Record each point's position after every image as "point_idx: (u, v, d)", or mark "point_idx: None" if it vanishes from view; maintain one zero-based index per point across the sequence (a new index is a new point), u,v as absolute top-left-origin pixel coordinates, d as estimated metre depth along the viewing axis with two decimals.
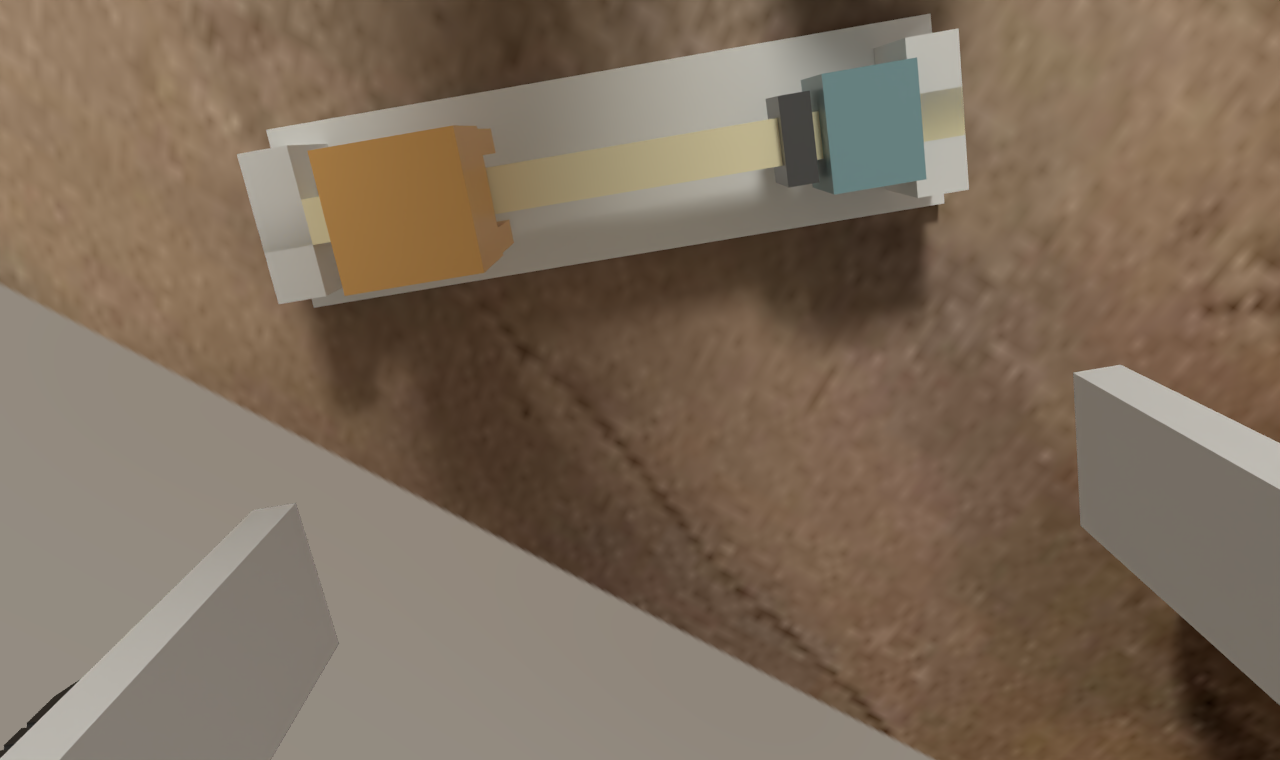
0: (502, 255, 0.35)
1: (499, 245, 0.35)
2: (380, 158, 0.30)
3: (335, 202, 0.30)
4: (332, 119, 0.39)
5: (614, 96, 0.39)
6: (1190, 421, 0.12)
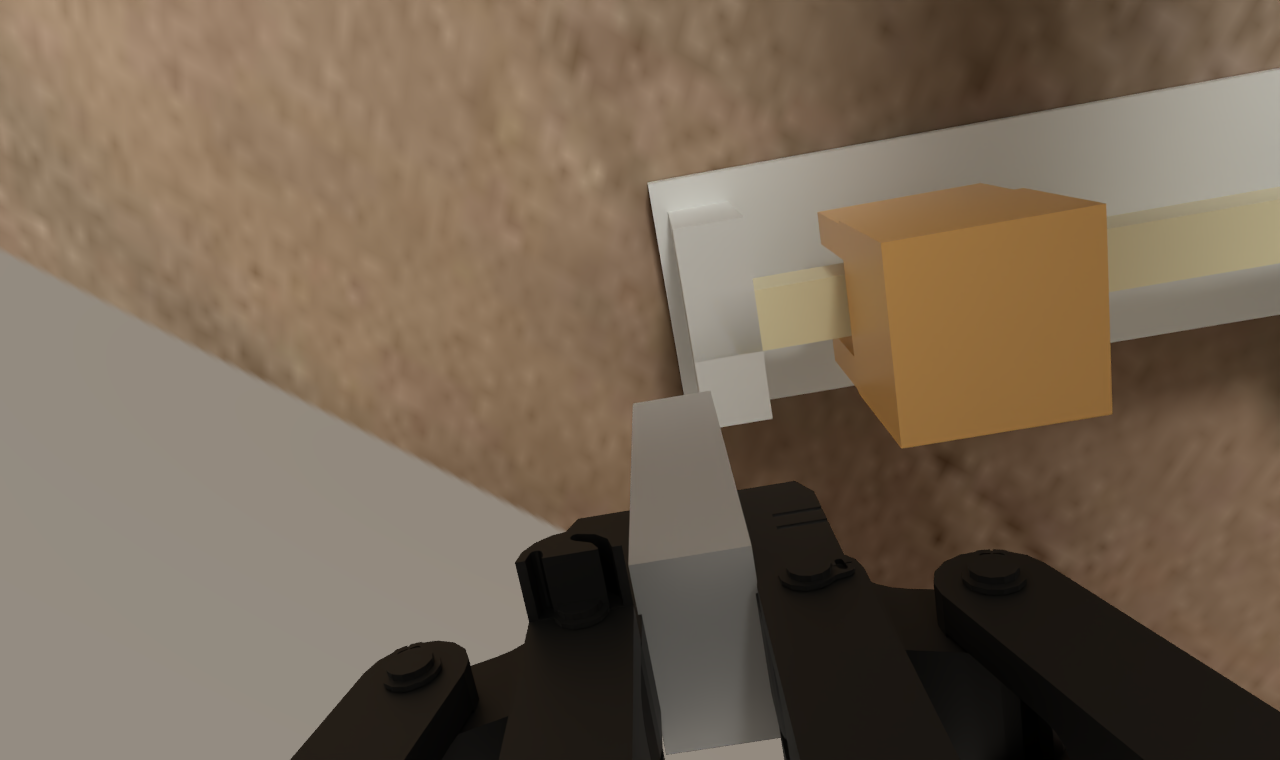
0: None
1: None
2: (987, 252, 0.20)
3: (910, 318, 0.21)
4: (738, 169, 0.29)
5: (1123, 134, 0.29)
6: (695, 441, 0.14)
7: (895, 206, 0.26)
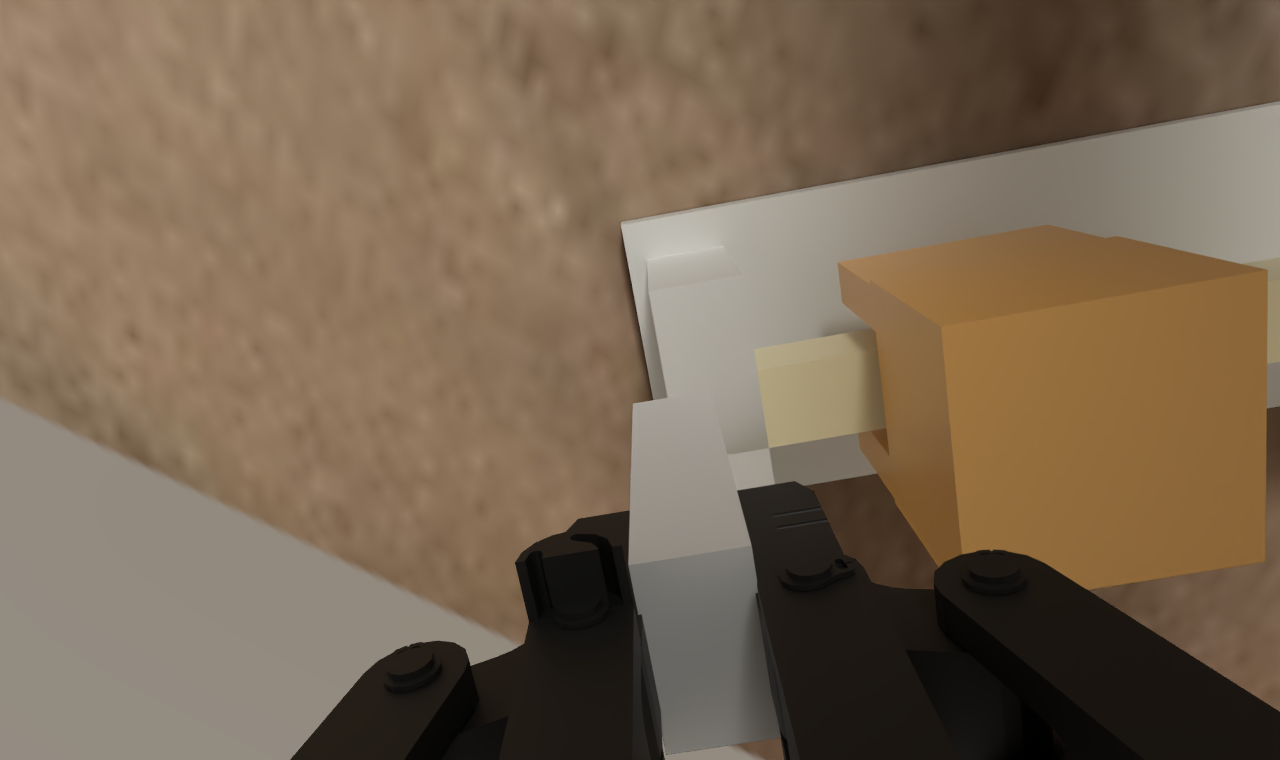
0: None
1: None
2: (1095, 340, 0.14)
3: (981, 431, 0.14)
4: (735, 206, 0.23)
5: (1223, 159, 0.23)
6: (695, 441, 0.14)
7: (941, 257, 0.20)
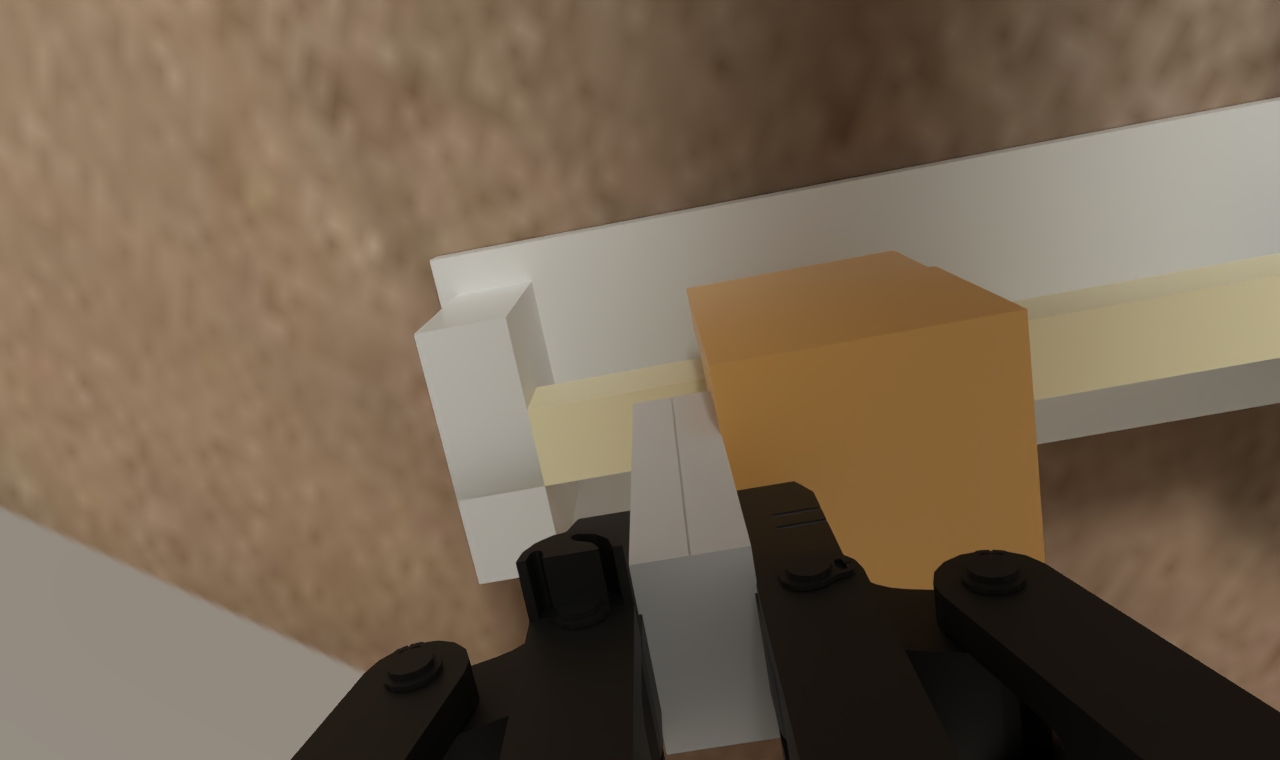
0: None
1: None
2: (861, 378, 0.14)
3: (757, 467, 0.15)
4: (541, 241, 0.23)
5: (1021, 193, 0.23)
6: (694, 441, 0.14)
7: (776, 286, 0.20)
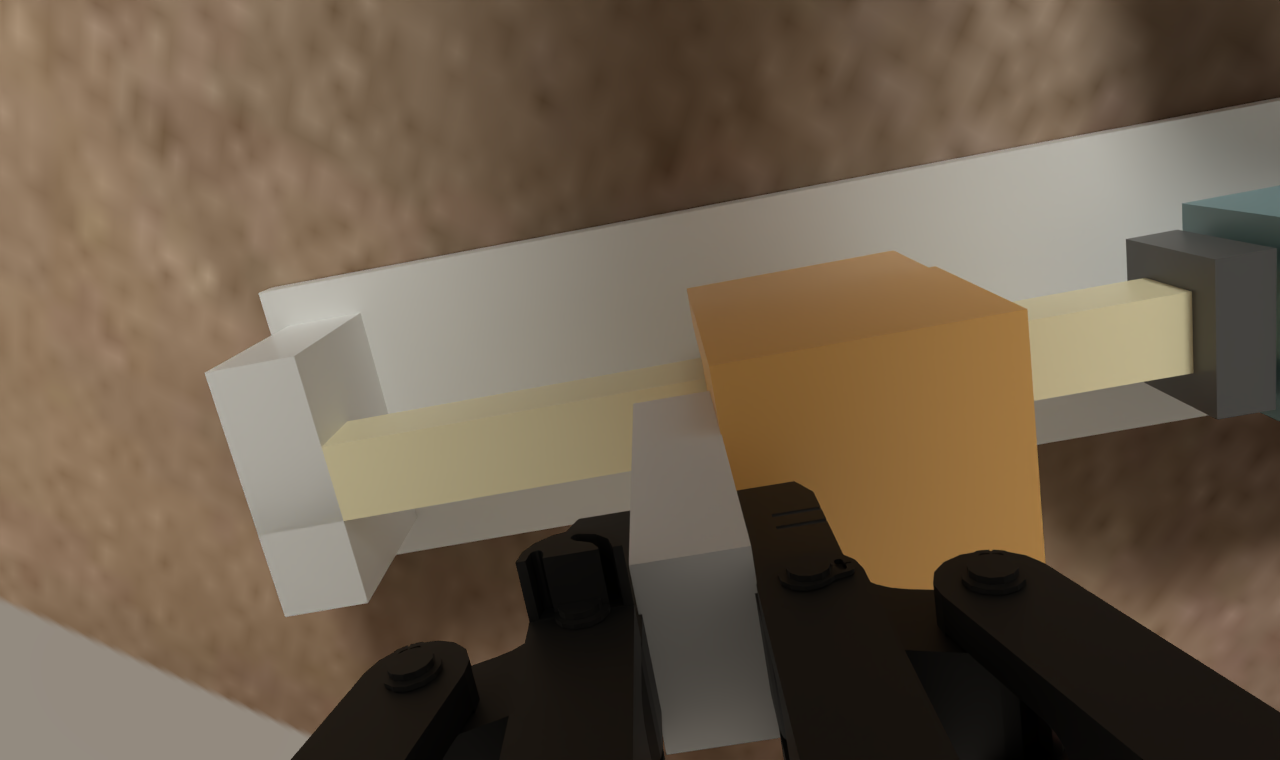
0: None
1: None
2: (861, 378, 0.14)
3: (756, 467, 0.15)
4: (368, 274, 0.23)
5: (840, 227, 0.23)
6: (694, 441, 0.14)
7: (776, 286, 0.20)
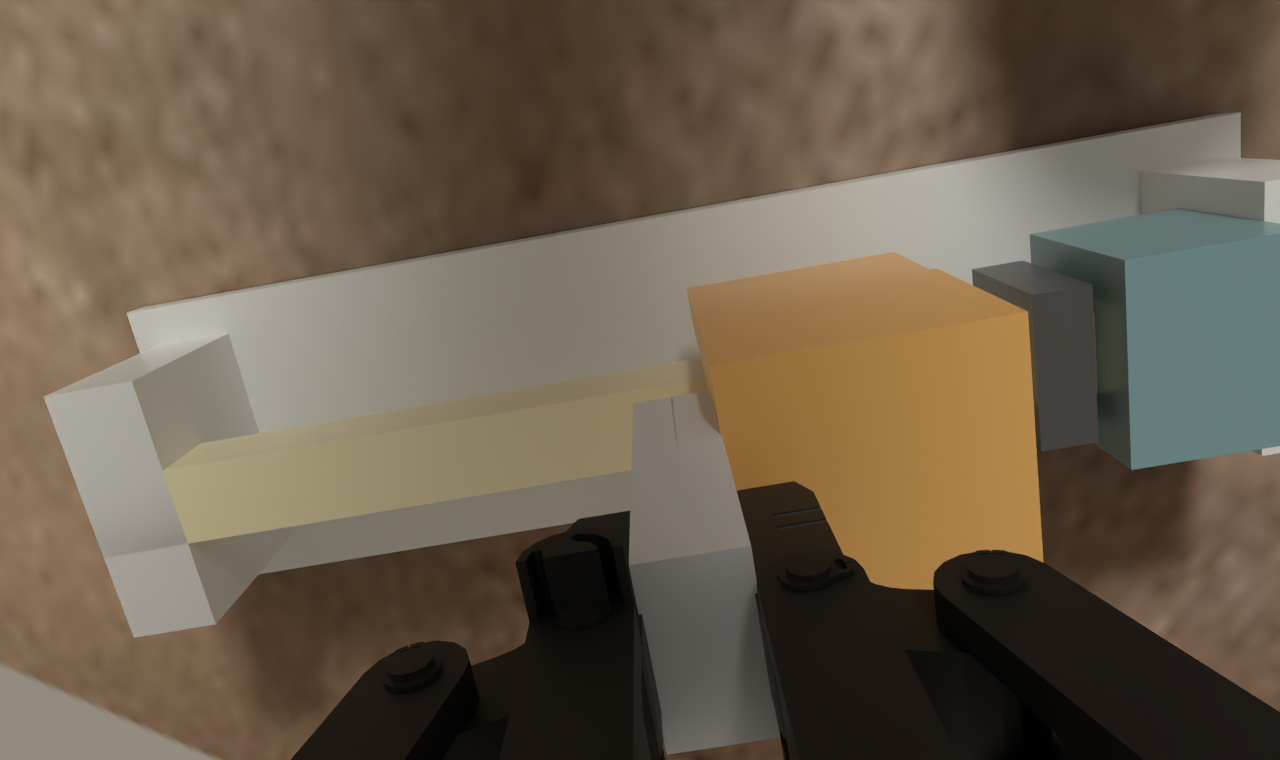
0: None
1: None
2: (862, 380, 0.14)
3: (756, 468, 0.15)
4: (235, 295, 0.24)
5: (702, 253, 0.23)
6: (694, 441, 0.14)
7: (776, 286, 0.20)
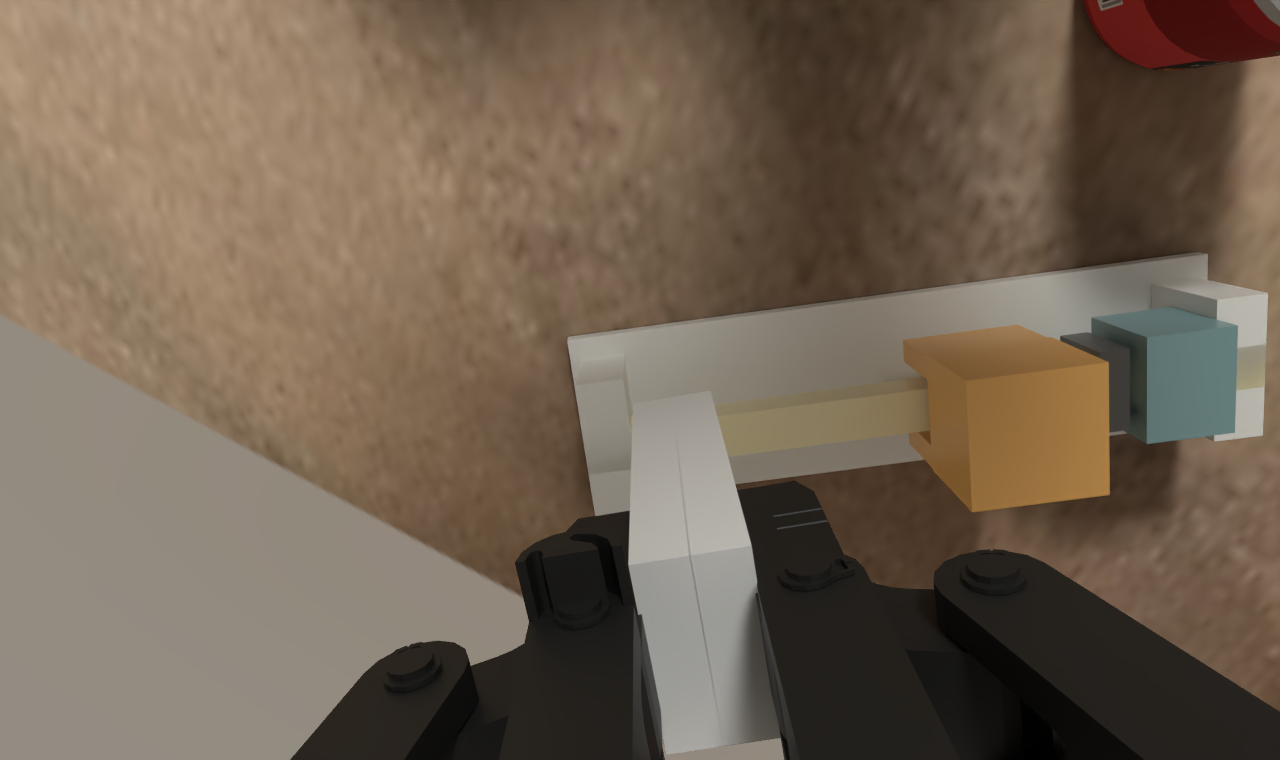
0: None
1: None
2: (1033, 389, 0.32)
3: (981, 428, 0.32)
4: (631, 332, 0.41)
5: (902, 319, 0.41)
6: (695, 441, 0.14)
7: (961, 342, 0.37)
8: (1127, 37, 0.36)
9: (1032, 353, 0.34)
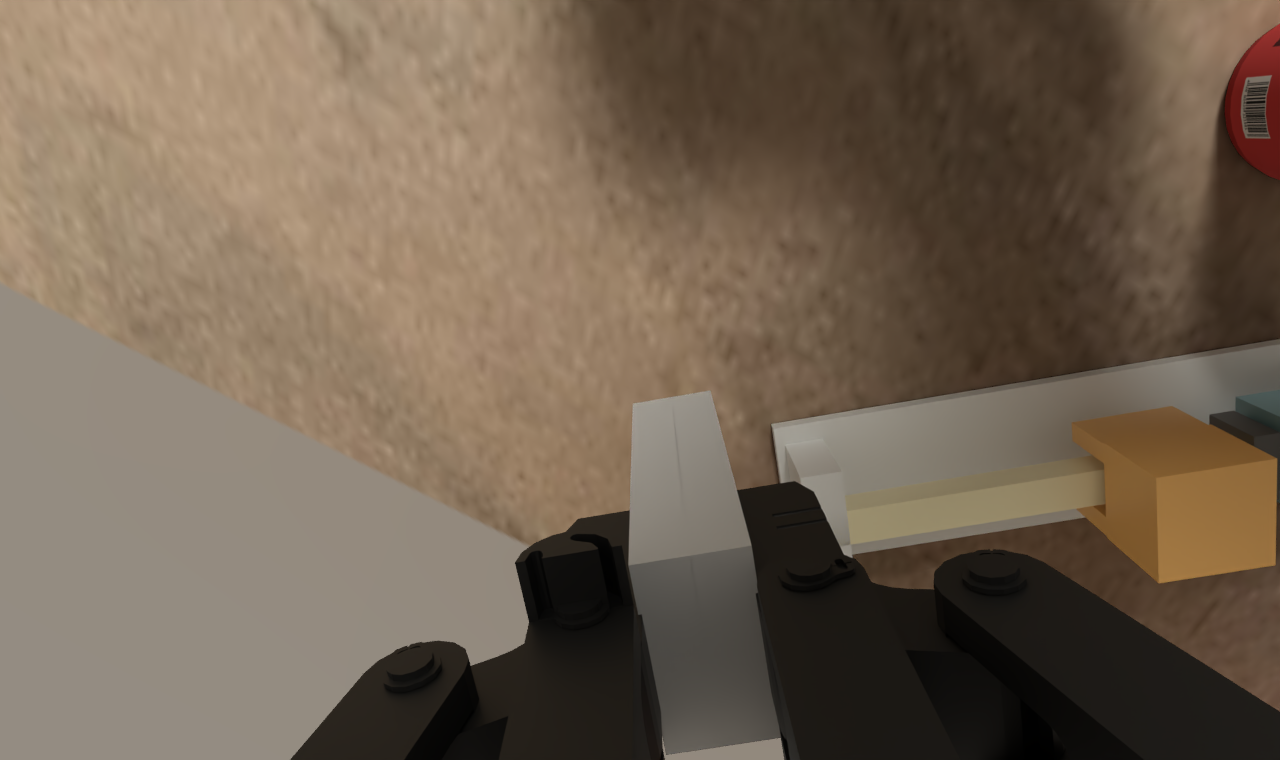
0: None
1: None
2: (1213, 483, 0.38)
3: (1168, 515, 0.38)
4: (829, 420, 0.47)
5: (1065, 400, 0.47)
6: (695, 441, 0.14)
7: (1128, 427, 0.43)
8: (1271, 162, 0.42)
9: (1202, 445, 0.40)
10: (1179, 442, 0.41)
